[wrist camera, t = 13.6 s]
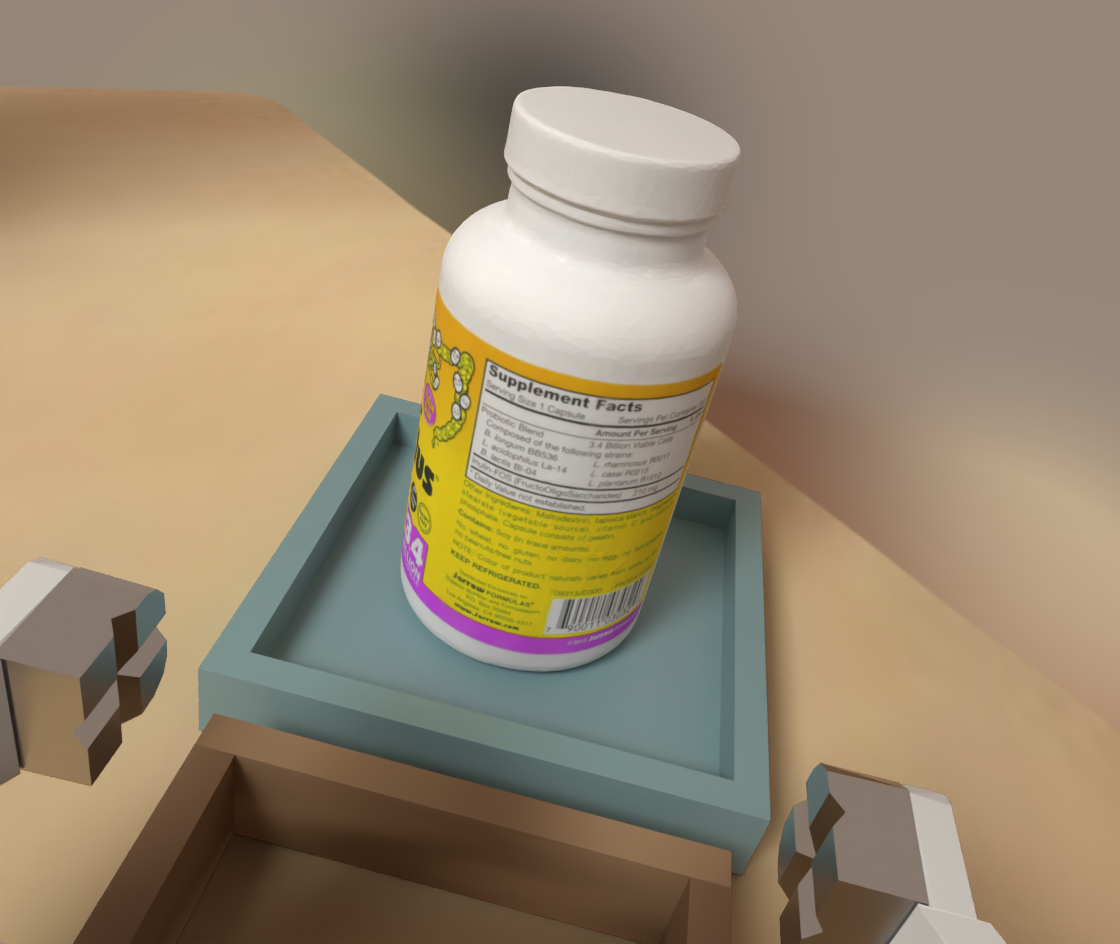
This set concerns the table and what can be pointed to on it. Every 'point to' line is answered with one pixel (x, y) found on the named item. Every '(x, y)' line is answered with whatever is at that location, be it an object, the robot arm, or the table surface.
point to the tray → (506, 694)
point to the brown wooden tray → (406, 842)
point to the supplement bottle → (568, 379)
